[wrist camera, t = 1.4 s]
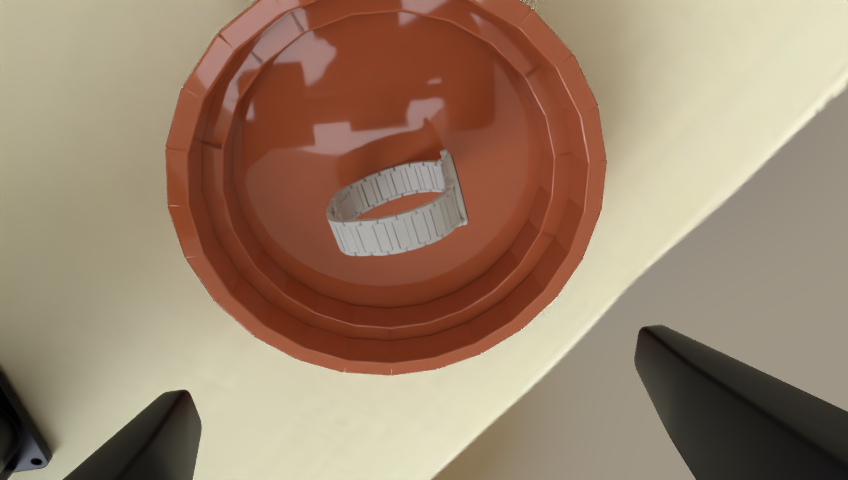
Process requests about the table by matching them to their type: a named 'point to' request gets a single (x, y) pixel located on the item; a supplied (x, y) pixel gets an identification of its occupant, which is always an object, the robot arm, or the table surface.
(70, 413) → the table surface
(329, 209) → the wristwatch
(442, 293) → the dish
